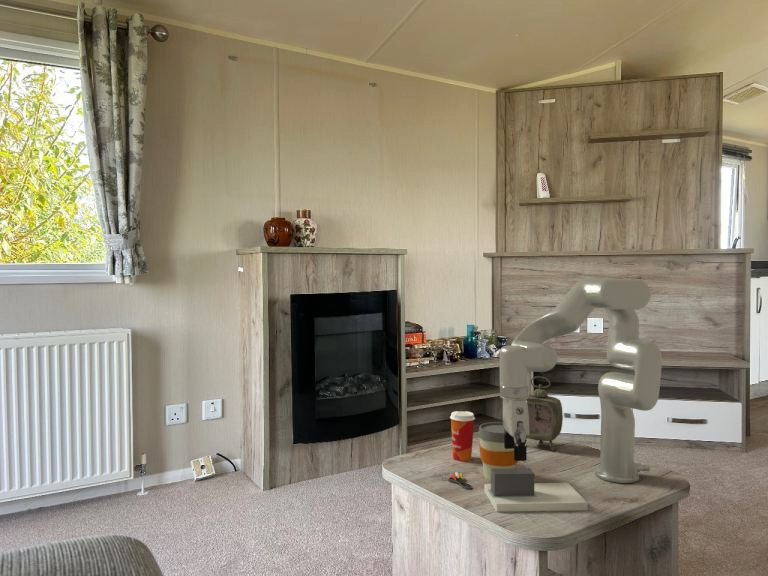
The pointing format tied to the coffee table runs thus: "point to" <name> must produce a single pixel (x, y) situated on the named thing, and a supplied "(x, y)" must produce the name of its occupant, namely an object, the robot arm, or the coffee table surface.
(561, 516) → the coffee table surface
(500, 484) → the block
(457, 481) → the composite cable
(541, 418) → the tabletop clock
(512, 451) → the reusable coffee cup
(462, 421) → the coffee cup
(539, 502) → the board
